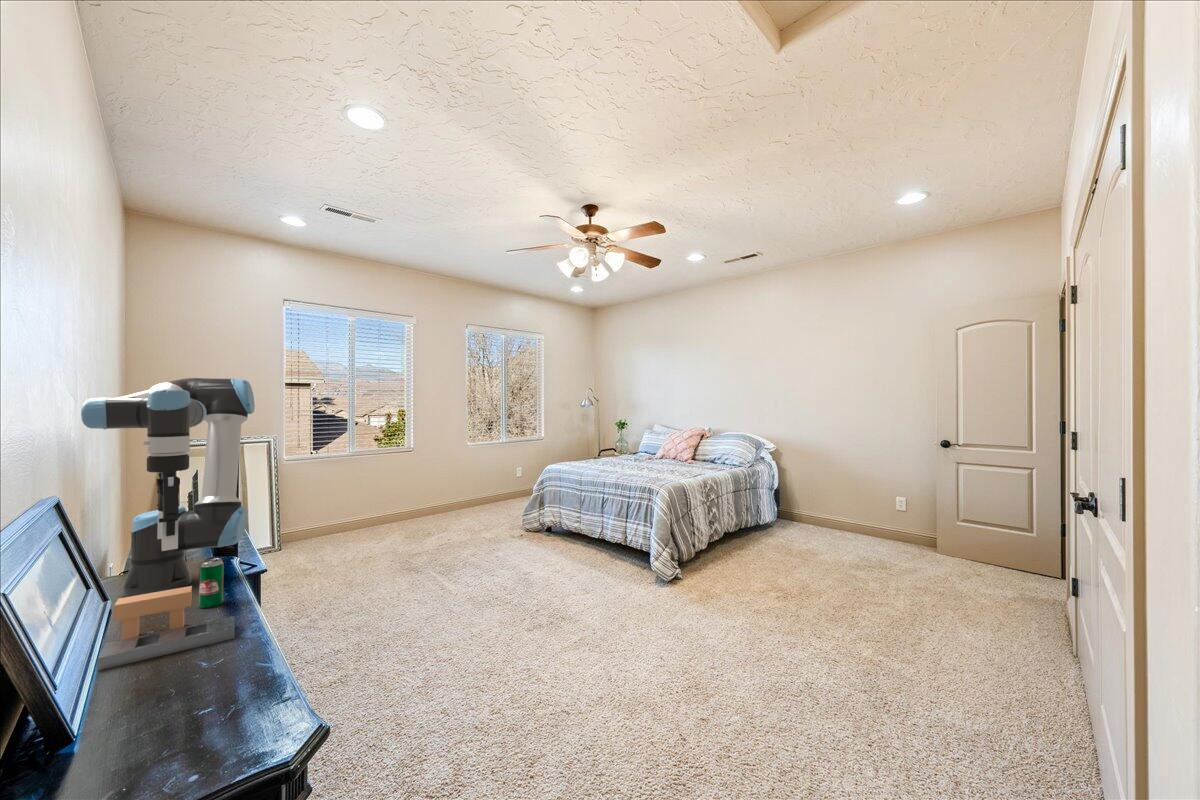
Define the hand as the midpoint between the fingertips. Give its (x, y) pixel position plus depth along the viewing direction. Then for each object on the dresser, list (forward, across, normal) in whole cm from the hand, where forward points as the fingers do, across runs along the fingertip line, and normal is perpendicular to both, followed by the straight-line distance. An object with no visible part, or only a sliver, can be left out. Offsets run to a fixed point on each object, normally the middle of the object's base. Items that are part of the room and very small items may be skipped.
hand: (167, 543), depth 112 cm
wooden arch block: (+21, -2, -2) cm, 21 cm away
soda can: (+22, -13, +10) cm, 27 cm away
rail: (+21, +10, 0) cm, 23 cm away
